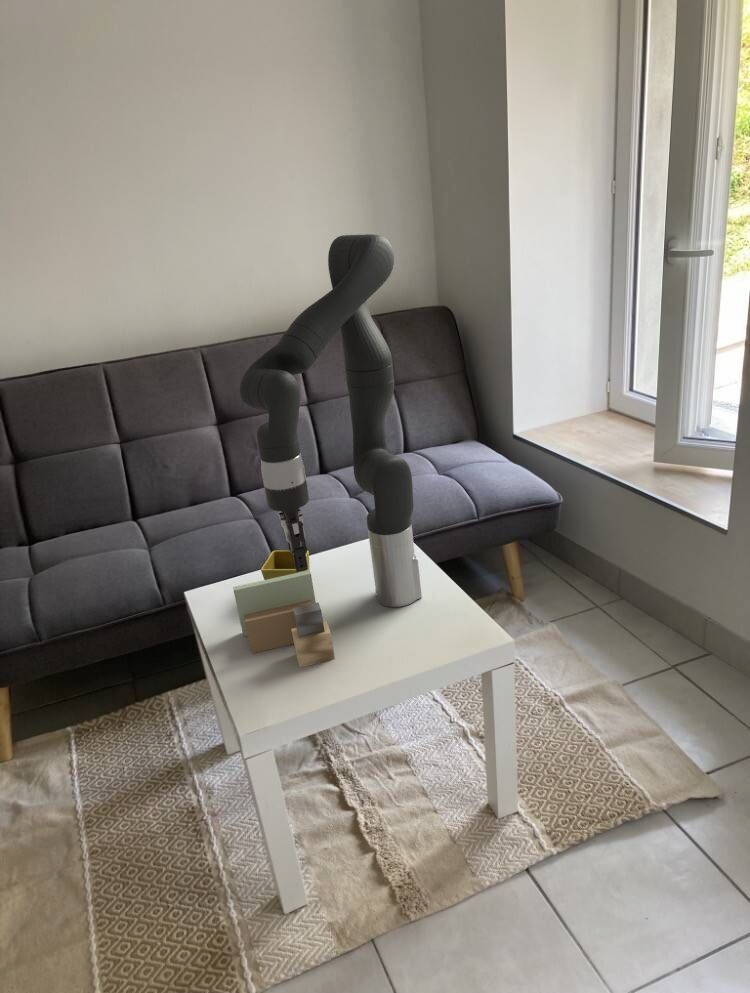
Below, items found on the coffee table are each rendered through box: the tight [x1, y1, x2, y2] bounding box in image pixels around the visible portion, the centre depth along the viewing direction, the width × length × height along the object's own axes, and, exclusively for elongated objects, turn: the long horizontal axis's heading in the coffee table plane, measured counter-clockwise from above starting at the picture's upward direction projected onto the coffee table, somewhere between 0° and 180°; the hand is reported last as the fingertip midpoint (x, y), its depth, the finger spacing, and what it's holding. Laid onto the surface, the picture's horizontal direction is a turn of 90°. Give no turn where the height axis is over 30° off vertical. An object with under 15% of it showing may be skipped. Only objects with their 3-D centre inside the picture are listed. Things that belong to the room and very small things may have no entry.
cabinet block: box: [291, 601, 336, 668], centre depth 152 cm, size 7×5×11 cm, turn 104°
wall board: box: [232, 569, 317, 654], centre depth 161 cm, size 16×9×11 cm, turn 104°
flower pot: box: [260, 550, 310, 580], centre depth 176 cm, size 9×9×9 cm
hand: (298, 560), depth 146 cm, fingers open, 8 cm apart
